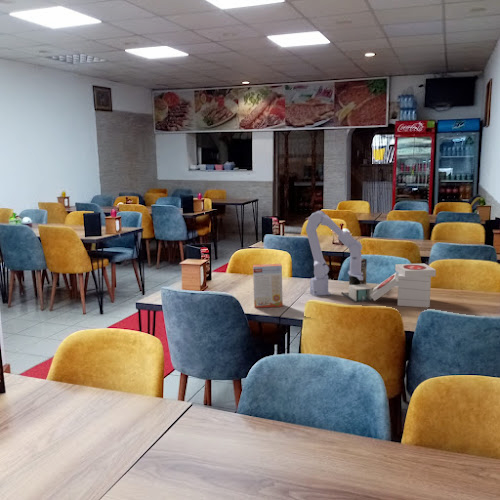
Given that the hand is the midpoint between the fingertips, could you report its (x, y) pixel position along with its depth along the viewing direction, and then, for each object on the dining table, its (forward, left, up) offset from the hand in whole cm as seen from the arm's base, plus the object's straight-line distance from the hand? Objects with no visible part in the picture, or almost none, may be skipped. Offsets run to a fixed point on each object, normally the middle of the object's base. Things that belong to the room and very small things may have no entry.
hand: (355, 290), depth 271 cm
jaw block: (0, -6, -2) cm, 7 cm away
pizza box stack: (+18, -16, -3) cm, 25 cm away
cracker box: (-48, -4, -3) cm, 48 cm away
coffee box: (+8, +15, -3) cm, 17 cm away
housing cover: (0, -6, -2) cm, 6 cm away
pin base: (0, -2, -3) cm, 4 cm away
